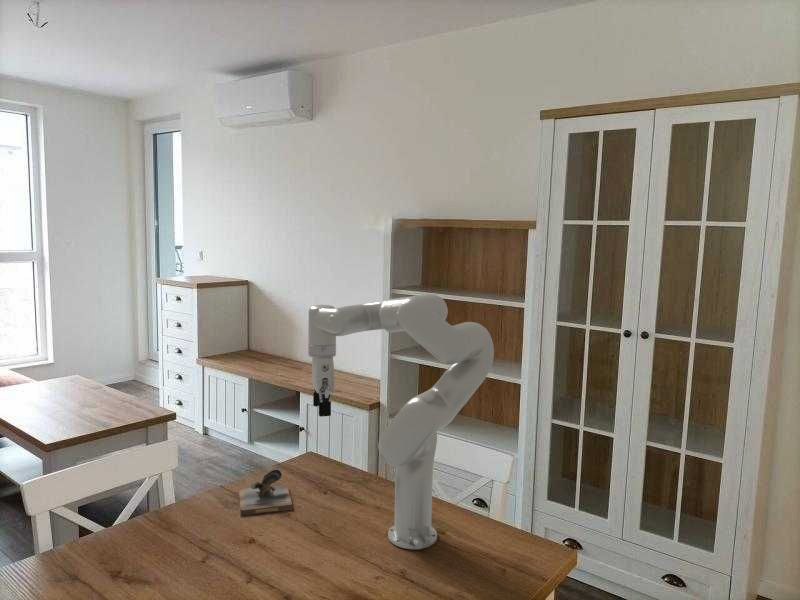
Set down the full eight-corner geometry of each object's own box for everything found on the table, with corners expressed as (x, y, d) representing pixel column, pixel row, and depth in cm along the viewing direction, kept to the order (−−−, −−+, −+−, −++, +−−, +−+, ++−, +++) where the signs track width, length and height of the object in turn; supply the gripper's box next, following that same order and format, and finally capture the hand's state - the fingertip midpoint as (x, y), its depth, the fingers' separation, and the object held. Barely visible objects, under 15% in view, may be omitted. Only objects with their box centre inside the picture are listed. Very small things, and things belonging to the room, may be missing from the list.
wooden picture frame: (292, 510, 164) (292, 504, 164) (240, 516, 160) (240, 510, 160) (286, 488, 178) (286, 483, 178) (239, 493, 174) (239, 488, 174)
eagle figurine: (279, 497, 166) (287, 478, 174) (265, 478, 164) (273, 460, 173) (258, 508, 167) (267, 489, 176) (243, 490, 166) (253, 471, 174)
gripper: (341, 355, 154) (341, 419, 156) (330, 343, 170) (329, 401, 172) (313, 357, 152) (312, 421, 153) (304, 344, 168) (304, 402, 170)
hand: (321, 410), depth 163 cm, fingers open, 9 cm apart
